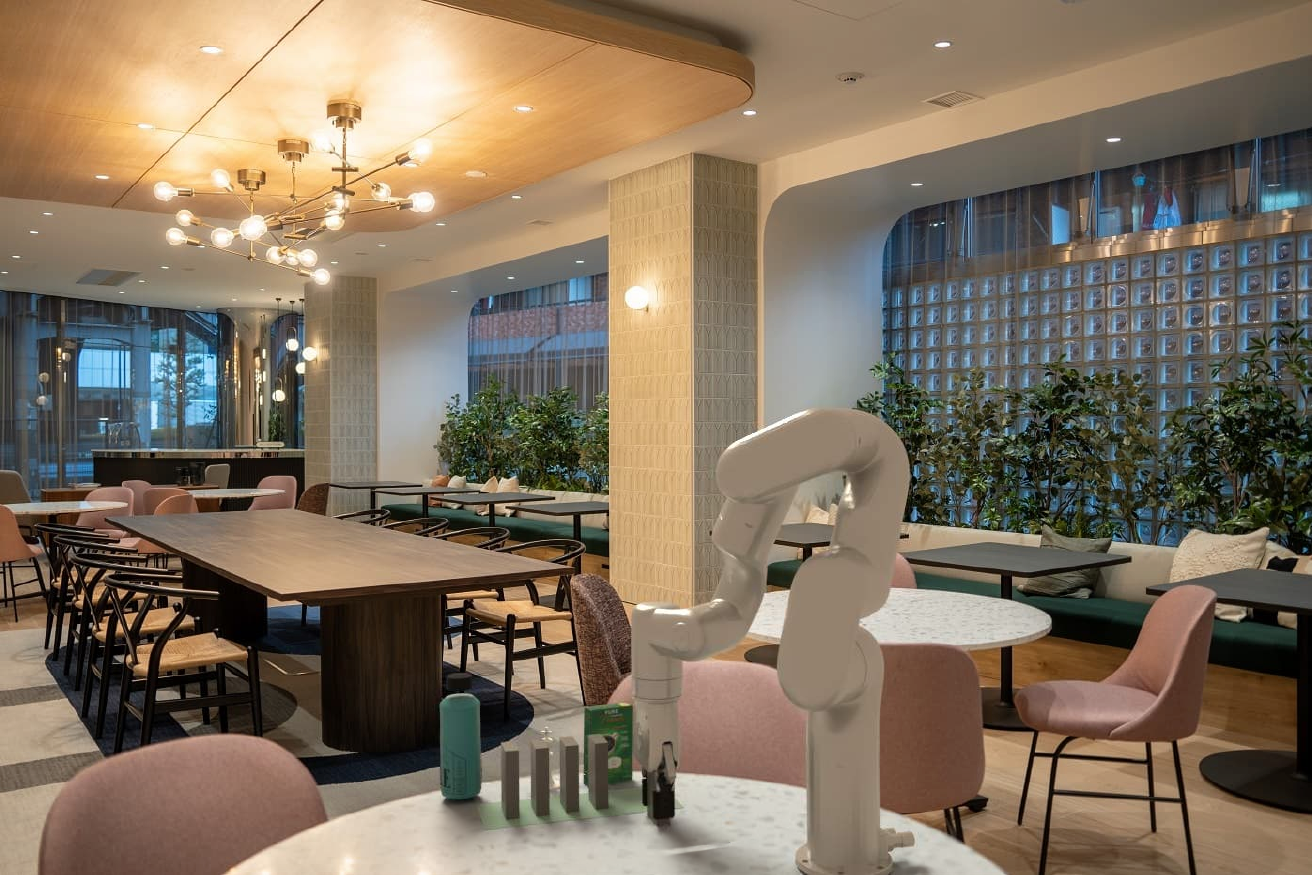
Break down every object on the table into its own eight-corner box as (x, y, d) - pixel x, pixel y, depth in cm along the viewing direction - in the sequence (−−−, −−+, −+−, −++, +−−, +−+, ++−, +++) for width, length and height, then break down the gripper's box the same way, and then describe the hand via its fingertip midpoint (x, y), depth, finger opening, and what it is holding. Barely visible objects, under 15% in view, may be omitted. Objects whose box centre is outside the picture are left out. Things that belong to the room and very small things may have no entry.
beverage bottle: (490, 799, 163) (489, 672, 163) (461, 812, 157) (460, 680, 158) (459, 792, 167) (459, 668, 167) (430, 804, 161) (429, 675, 161)
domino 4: (601, 797, 162) (600, 733, 162) (608, 808, 157) (607, 742, 157) (588, 799, 161) (588, 734, 161) (595, 810, 156) (595, 743, 156)
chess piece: (557, 795, 165) (556, 732, 165) (527, 793, 166) (527, 730, 166) (566, 785, 170) (565, 724, 170) (537, 783, 171) (536, 722, 171)
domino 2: (543, 803, 159) (543, 738, 159) (549, 814, 154) (549, 747, 154) (530, 805, 158) (530, 739, 159) (536, 816, 154) (535, 748, 154)
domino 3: (572, 800, 160) (572, 736, 160) (579, 811, 155) (578, 745, 156) (559, 802, 160) (559, 737, 160) (566, 813, 155) (565, 746, 155)
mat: (663, 788, 167) (663, 785, 167) (683, 811, 157) (683, 807, 157) (476, 808, 159) (476, 804, 159) (484, 833, 149) (484, 829, 149)
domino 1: (514, 807, 158) (514, 741, 158) (519, 818, 153) (519, 750, 153) (501, 808, 157) (501, 742, 157) (506, 819, 152) (505, 751, 153)
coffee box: (626, 778, 173) (625, 699, 173) (634, 783, 170) (633, 703, 170) (582, 786, 169) (581, 706, 169) (590, 791, 166) (589, 709, 166)
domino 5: (660, 816, 155) (659, 749, 155) (669, 828, 150) (669, 759, 150) (647, 818, 154) (646, 750, 154) (656, 830, 149) (656, 760, 150)
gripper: (618, 676, 159) (619, 795, 159) (648, 702, 143) (649, 834, 143) (665, 673, 162) (666, 790, 161) (699, 698, 145) (700, 828, 145)
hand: (658, 809), depth 152 cm, fingers closed on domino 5, 4 cm apart
